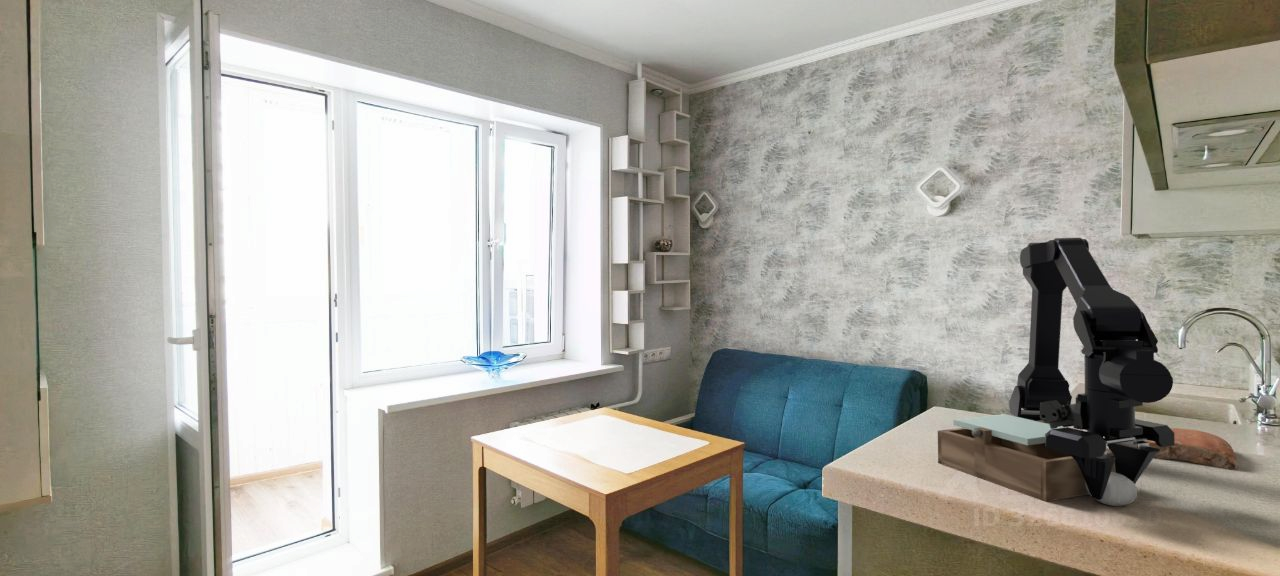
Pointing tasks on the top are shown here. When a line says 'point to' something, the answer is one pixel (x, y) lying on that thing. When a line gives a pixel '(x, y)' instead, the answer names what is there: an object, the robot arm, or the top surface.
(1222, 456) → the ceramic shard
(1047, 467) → the frame
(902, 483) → the top surface
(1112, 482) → the garlic
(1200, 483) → the top surface
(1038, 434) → the trapdoor plate
